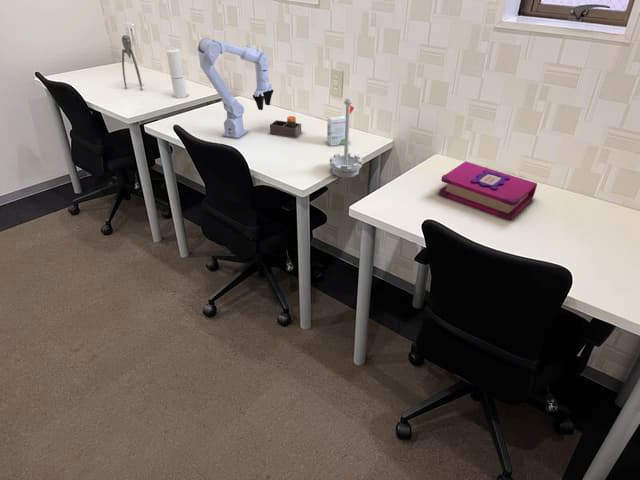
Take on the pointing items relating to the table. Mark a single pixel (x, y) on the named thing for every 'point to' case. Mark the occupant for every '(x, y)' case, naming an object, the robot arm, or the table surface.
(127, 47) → the juicer
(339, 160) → the flag stand
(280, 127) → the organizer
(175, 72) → the cylindrical container
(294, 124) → the grey and orange cylinder
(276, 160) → the table surface
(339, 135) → the ink box
